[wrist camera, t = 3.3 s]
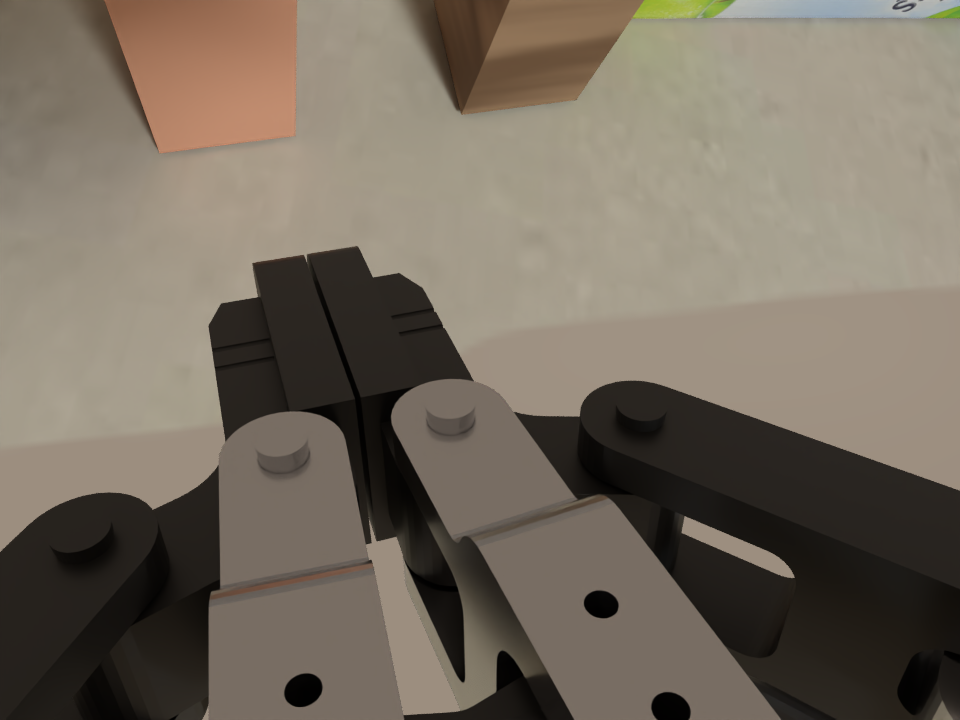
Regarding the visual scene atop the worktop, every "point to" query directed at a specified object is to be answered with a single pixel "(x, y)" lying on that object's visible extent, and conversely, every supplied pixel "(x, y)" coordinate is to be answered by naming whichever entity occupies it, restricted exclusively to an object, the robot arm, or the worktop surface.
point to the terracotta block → (211, 68)
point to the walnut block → (527, 48)
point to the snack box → (799, 9)
